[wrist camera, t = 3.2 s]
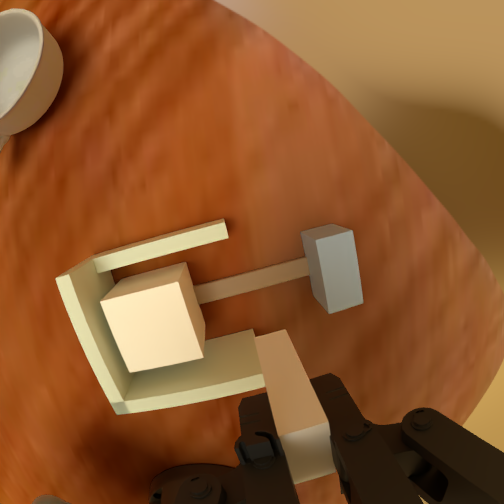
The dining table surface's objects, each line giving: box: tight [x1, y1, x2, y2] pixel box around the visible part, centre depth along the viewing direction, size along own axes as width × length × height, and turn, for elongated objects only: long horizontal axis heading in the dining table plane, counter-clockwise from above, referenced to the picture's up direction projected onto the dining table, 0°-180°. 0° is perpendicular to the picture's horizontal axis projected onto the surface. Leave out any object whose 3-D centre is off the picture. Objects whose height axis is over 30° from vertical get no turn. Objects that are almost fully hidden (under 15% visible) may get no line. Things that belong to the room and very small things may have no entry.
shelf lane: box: [55, 218, 266, 415], centre depth 24 cm, size 12×11×8 cm
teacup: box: [0, 9, 63, 152], centre depth 19 cm, size 14×11×8 cm
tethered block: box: [100, 224, 363, 373], centre depth 25 cm, size 19×6×6 cm, turn 104°
